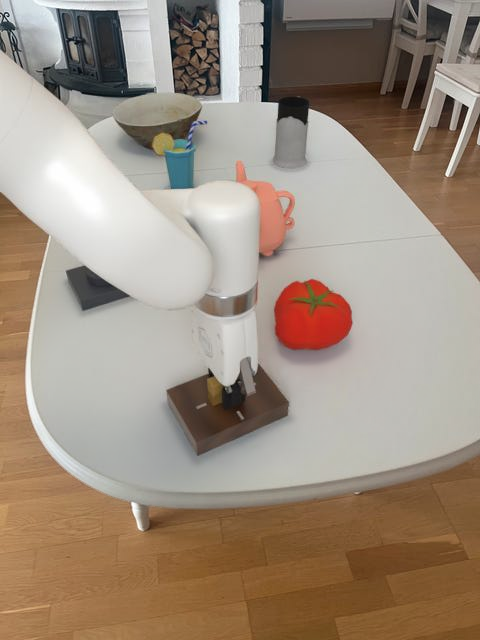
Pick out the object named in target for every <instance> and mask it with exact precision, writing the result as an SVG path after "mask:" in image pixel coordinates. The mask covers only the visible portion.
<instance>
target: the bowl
mask: <svg viewBox="0 0 480 640" xmlns="http://www.w3.org/2000/svg"><path fill="white" fill-rule="evenodd" d="M202 108H203V105H202V103H201V101H200V100H199V99H197V98H196V97H194V96H192V95H188V94H184V93H180V92H154V93H145V94H141V95H137V96H134V97H131V98H128V99H124V100H123V101H121V102H120V103H119V104H117V105H116V106H115V108H114V109H113V111H112V117H113V119H114V121H115V122H116V124H117V125H118V126H119V128H121V129H122V130H123V131H124V133H126V134H127V135H128V136H130V137H131V138H132V140H135V141H136V142H138V144H139V145H142V146H143V147H145V148H148V149H151V150H154V149H153V147H152V143H153V140H154V137H156V136H158V135H159V134H161V133H165V134H169V135H171V136H172V138H173V140H177V139H184V140H186V138H187V137H188V136H189V132H190V128H191V125H192V123H193V122H194V121H198V118H199V116H200V114H201V112H202V110H203V109H202Z"/></svg>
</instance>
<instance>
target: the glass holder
mask: <svg viewBox="0 0 480 640" xmlns="http://www.w3.org/2000/svg"><path fill="white" fill-rule="evenodd" d="M277 102H278V103H277V118H276V125H275V126H276V127H275V142H274V143H275V144H274V156H273V159H272V163H273V164H274V165H276V166H277V167H280V168H283V169H284V168H285V169H298V168H302V167H304V166H305V165H306V164H307V157H306V152H307V142H308V141H307V139H308V130H309V113H310V112H309V110H310V101H309V99H307V98H304V97H301V96H299V95H298V96H284V97H281V98H280V99H278V101H277Z"/></svg>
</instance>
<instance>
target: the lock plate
mask: <svg viewBox="0 0 480 640" xmlns="http://www.w3.org/2000/svg"><path fill="white" fill-rule="evenodd" d="M252 377H253V381H254V385H255V390H256V393H254V394H252V395H249V396H245V401H244V402H243V403H241V404H240V405H238V406H236V407H232V408H229V409H227V410H224V408H223V407H222V403H220V404H217V405H215V406H213V405H212V403H211V402H210V400H209V399H208V385H207V379H208V378H209V375H208V373H207V374H204V375H201V376H198V377H196V378H194V379H191V380H187V381H186V382H183V383H181V384H178V385H175V386H173V387H170V388H168V389H166V390H165V392H166V399H167V400H166V401H167V405H168V407H169V408H170V410H171V412H172V414H173V415H174V417H175V420H176V421H177V423H178V424H179V426H180V428H181V430H182V432H183V433H184V435H185V437H186V439H187V440H188V442H189V444H190V446H191V448H192V449H193V451H194V453H195V454H196V456H197V457H198V456H201V455H203V454H205V453H208V452H210V451H212V450H214V449H217V448H218V447H222V446H223V445H225V444H228V443H230V442H232V441H234V440H236V439H239V438H241V437H243V436H245V435H248V434H251V433H252V432H254V431H256V430H259V429H261V428H263V427H266V426H268V425H270V424H272V423H274V422H276V421H279V420H281V419H283V418H285V417H288V414H289V405H290V401H289V400H288V399H287V397H286V396H285V395H284V394H283V392H282V391H281V390H280V388H279V387H278V386H277V384H276V383H275V382H274V381H273V379H271V377H270V376H269V374H268V373H267V372H266V371H265V369H264V368H263V367H262V366H261V364H260V363H259V362H258V368H257V372H256V374H255V375H252Z"/></svg>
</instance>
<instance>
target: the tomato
mask: <svg viewBox="0 0 480 640" xmlns="http://www.w3.org/2000/svg"><path fill="white" fill-rule="evenodd" d="M273 313H274V320H275V321H274V322H275V327H274V333H275V337H276V338H277V340H278V341H279V342H280V343H281V344H282V345H283V346H284V347H286V348H288V349H291V350H293V351H298V350H299V351H300V350H310V351H311V350H312V351H319V350H323V349H328V348H331V347H333V346H335V345H337V344H338V343H340V342H341V341H343V340H344V339H345V338H346V337H347V336H348V335H349V333H350V331H351V329H352V327H353V317H352V316H353V311H352V308H351V306H350V303H348V301H347V300H346V298H345V297H343V295H341V294H339V293H336V292H335V291H334V290H331V289H330V288H329V287H328V286H326V285H325V284H324V283H323V282H321V281H320V280H317V279H313V278H311V279H308V280H304V281H303V282H301V281H298V280H296V281H293V282H291V283H289V284H288V285H286V286H285V287H284V288H283V290H282V291H281V292H280V294H279V296H278V297H277V299H276V301H275V304H274V308H273Z"/></svg>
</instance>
